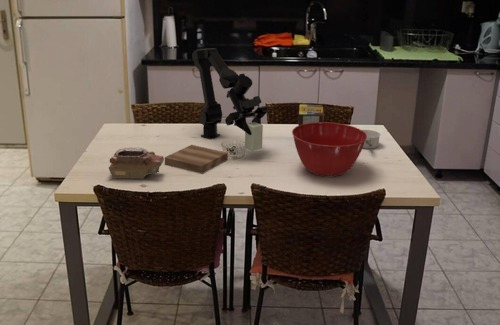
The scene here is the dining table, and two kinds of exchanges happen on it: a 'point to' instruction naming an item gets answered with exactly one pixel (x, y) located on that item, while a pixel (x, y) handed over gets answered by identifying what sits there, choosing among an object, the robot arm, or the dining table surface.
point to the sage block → (254, 136)
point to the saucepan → (371, 139)
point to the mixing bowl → (328, 147)
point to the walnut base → (196, 158)
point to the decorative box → (134, 163)
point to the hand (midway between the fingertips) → (256, 133)
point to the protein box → (310, 114)
